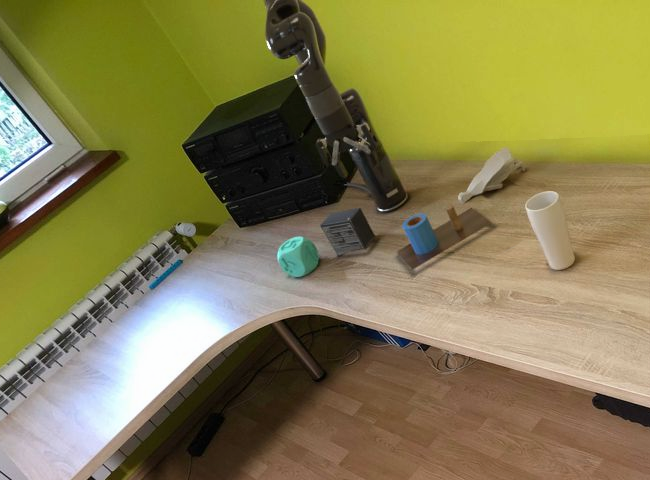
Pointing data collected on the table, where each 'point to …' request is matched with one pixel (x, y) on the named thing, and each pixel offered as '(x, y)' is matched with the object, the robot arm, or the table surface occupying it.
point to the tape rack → (447, 235)
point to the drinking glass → (551, 228)
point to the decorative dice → (298, 256)
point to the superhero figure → (491, 174)
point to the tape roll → (420, 234)
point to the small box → (347, 231)
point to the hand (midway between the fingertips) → (360, 171)
